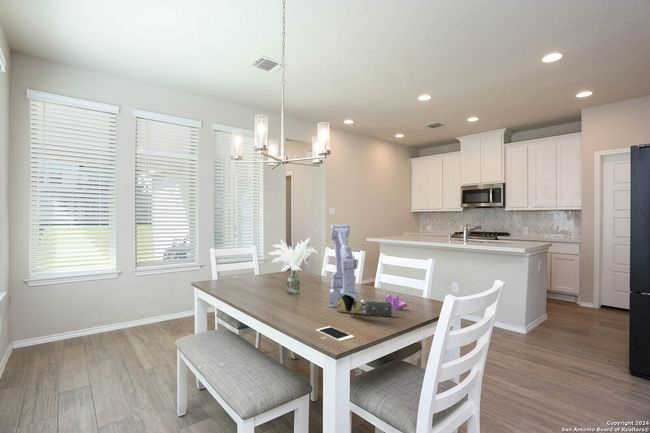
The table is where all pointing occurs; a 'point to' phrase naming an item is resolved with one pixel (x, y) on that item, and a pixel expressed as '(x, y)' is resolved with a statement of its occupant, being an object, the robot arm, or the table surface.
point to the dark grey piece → (377, 308)
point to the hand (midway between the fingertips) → (348, 310)
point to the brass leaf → (355, 307)
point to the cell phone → (335, 333)
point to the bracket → (395, 302)
